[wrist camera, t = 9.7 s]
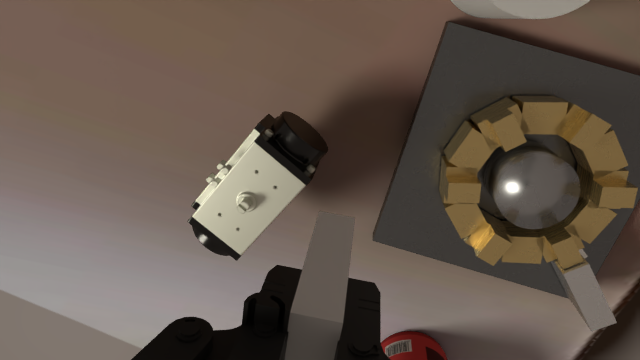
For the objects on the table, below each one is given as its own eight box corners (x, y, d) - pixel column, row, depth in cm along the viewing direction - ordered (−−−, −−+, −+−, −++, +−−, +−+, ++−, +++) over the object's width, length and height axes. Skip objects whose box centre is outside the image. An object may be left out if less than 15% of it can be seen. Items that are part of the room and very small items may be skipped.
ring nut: (412, 145, 38) (417, 163, 34) (570, 63, 35) (600, 71, 30) (507, 318, 43) (523, 355, 38) (656, 262, 39) (693, 295, 35)
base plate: (446, 21, 37) (458, 22, 31) (688, 90, 36) (744, 103, 31) (372, 233, 44) (372, 265, 38) (574, 292, 43) (603, 333, 38)
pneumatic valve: (338, 127, 41) (323, 170, 29) (260, 214, 45) (220, 281, 33) (291, 86, 40) (257, 114, 29) (216, 178, 44) (160, 234, 33)
